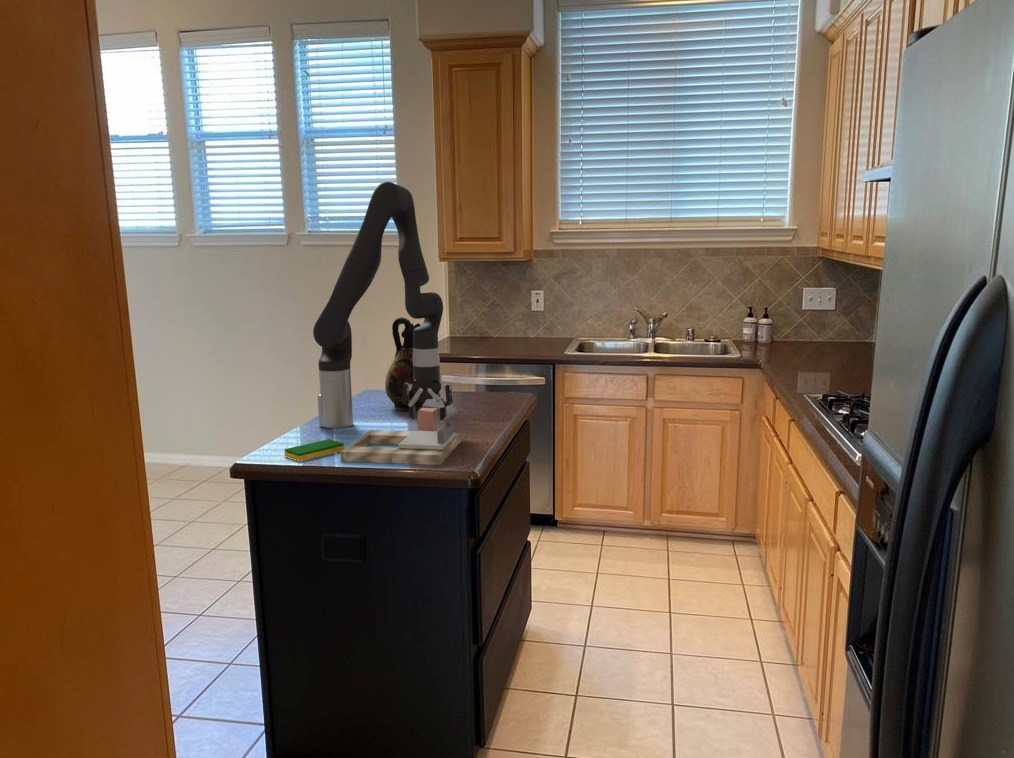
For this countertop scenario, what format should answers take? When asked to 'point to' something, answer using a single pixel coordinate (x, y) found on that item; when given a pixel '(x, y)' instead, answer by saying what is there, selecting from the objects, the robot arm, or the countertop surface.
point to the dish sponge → (314, 449)
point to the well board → (394, 449)
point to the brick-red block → (427, 419)
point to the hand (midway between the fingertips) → (427, 419)
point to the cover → (429, 439)
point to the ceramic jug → (402, 366)
